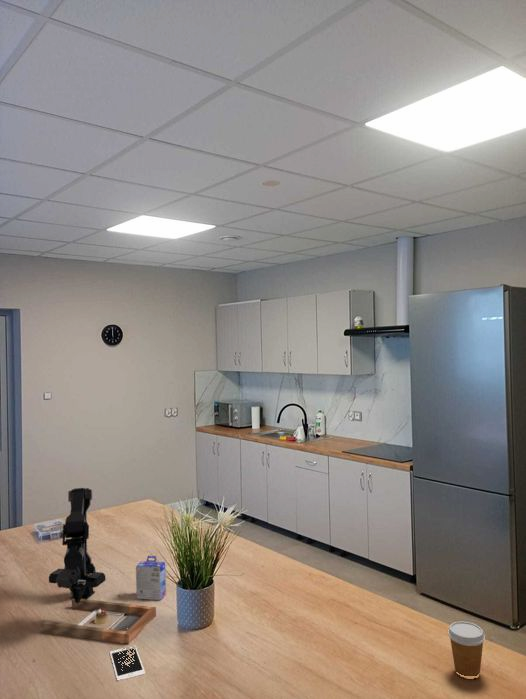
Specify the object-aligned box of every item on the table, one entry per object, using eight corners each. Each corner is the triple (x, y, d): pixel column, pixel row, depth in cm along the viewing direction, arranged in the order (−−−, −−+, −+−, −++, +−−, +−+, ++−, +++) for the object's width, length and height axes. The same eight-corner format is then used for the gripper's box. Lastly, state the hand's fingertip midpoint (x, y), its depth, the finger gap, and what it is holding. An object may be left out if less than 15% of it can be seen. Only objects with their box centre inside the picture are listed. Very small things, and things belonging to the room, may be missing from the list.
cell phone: (117, 683, 149) (117, 680, 149) (109, 653, 164) (109, 651, 164) (145, 675, 152) (145, 673, 152) (135, 647, 167) (135, 645, 167)
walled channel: (40, 632, 177) (40, 622, 177) (74, 606, 194) (74, 597, 194) (129, 644, 168) (128, 634, 168) (156, 615, 185) (155, 607, 185)
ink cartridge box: (167, 593, 202) (165, 555, 202) (161, 600, 196) (160, 561, 196) (142, 592, 204) (141, 554, 204) (136, 599, 198) (134, 559, 198)
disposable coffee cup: (443, 664, 152) (442, 621, 152) (475, 661, 153) (474, 619, 153) (458, 685, 143) (457, 640, 143) (493, 682, 144) (491, 637, 143)
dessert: (126, 615, 187) (125, 602, 187) (107, 633, 176) (106, 619, 176) (95, 612, 190) (95, 598, 190) (75, 629, 179) (74, 615, 179)
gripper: (36, 564, 178) (38, 611, 178) (86, 568, 173) (87, 617, 173) (58, 551, 189) (60, 596, 189) (105, 555, 183) (107, 601, 184)
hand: (77, 602), depth 183 cm, fingers closed
